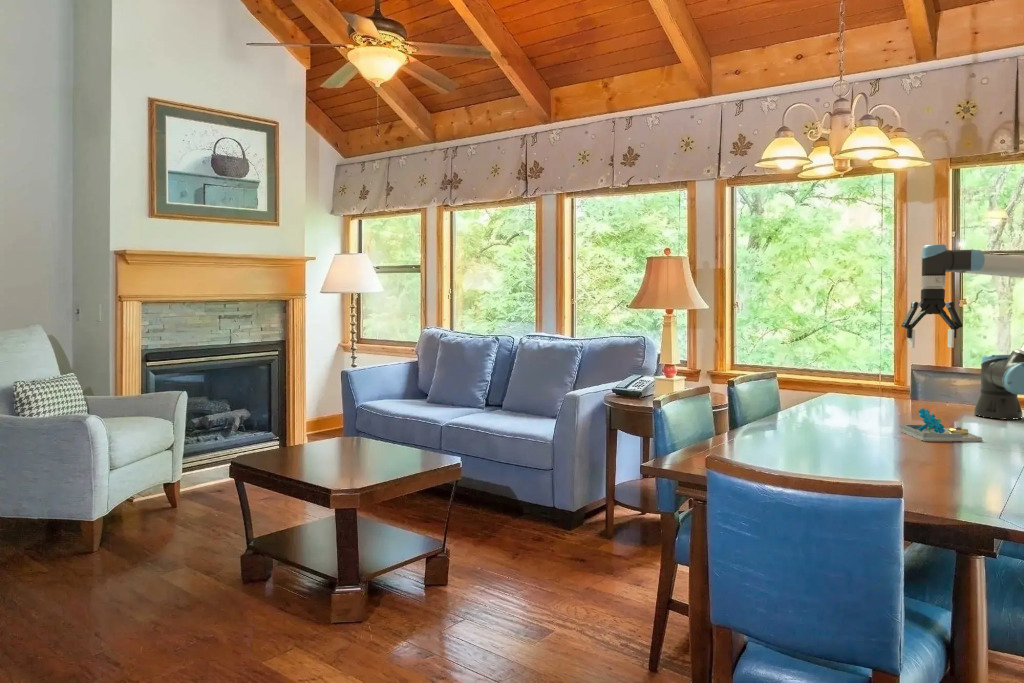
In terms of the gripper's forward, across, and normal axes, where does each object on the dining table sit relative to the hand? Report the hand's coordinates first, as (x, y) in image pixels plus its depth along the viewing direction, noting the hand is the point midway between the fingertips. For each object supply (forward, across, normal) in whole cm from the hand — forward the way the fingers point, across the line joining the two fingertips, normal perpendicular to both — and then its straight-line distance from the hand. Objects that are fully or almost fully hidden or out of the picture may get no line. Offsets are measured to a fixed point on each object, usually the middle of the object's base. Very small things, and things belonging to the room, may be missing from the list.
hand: (931, 347), depth 272 cm
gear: (+26, -13, -28) cm, 40 cm away
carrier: (+26, -10, -29) cm, 40 cm away
